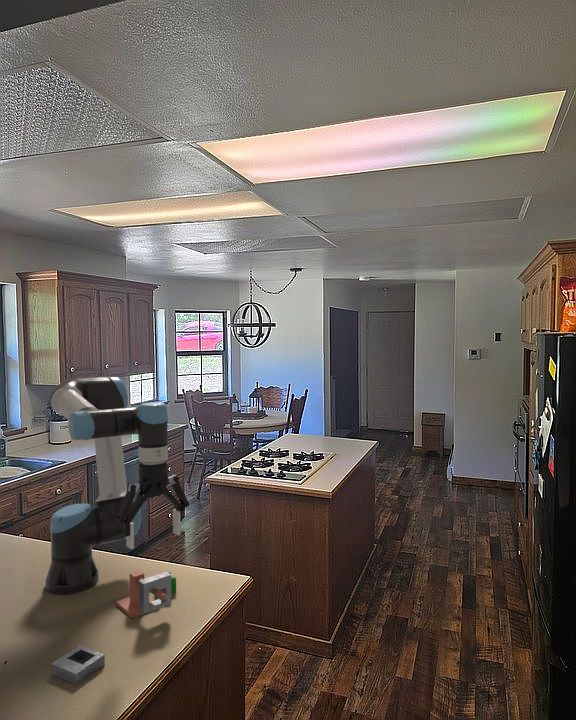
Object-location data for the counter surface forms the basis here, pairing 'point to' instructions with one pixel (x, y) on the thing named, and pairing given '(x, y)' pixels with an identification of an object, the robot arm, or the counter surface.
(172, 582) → the pipe clamp
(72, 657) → the link
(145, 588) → the link
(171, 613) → the counter surface
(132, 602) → the hook
